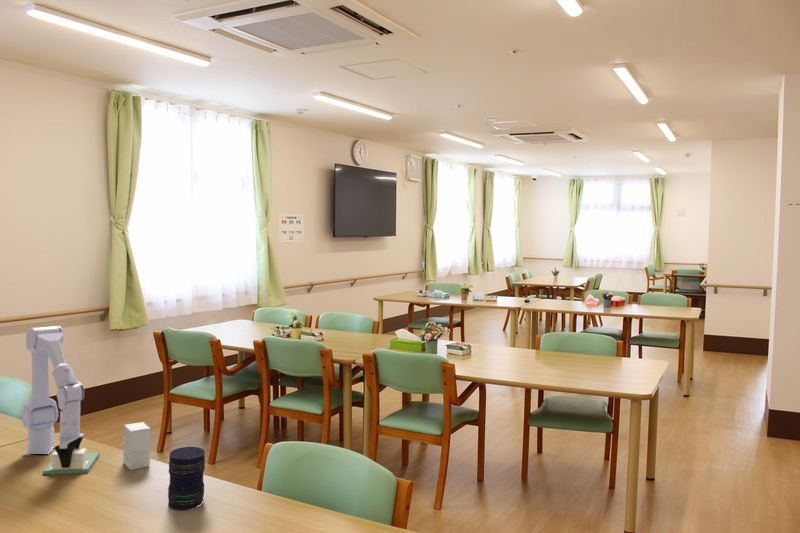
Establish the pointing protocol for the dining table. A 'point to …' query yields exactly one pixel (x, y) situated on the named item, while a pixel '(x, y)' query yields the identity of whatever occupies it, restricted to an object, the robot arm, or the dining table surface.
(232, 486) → the dining table surface
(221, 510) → the dining table surface
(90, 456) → the board
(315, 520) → the dining table surface
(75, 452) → the block
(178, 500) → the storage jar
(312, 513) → the dining table surface
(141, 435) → the small box
